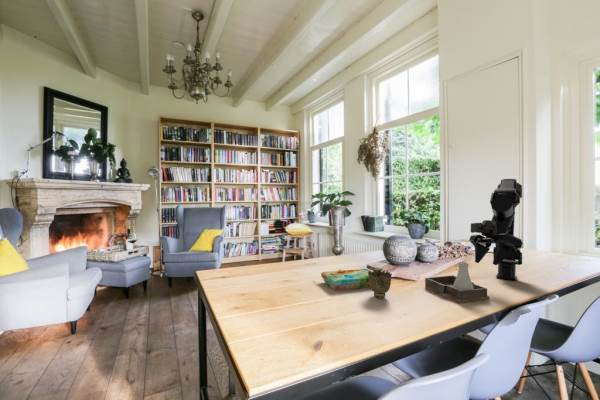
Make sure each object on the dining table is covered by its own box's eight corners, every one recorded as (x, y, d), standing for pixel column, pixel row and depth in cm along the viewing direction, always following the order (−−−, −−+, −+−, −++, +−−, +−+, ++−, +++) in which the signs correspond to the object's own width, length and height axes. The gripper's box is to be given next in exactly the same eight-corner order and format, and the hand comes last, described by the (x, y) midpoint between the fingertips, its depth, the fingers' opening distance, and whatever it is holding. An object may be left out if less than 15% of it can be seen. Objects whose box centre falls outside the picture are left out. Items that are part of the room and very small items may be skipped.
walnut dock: (425, 287, 101) (425, 277, 101) (452, 285, 105) (452, 275, 104) (458, 303, 87) (458, 291, 87) (489, 299, 90) (489, 288, 90)
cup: (378, 302, 88) (379, 276, 87) (363, 295, 94) (363, 271, 94) (396, 298, 91) (396, 273, 91) (380, 291, 98) (380, 268, 97)
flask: (472, 290, 95) (473, 260, 95) (478, 298, 88) (479, 266, 88) (448, 288, 98) (449, 259, 97) (452, 295, 91) (453, 264, 90)
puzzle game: (321, 270, 108) (367, 266, 114) (321, 282, 108) (367, 278, 114) (334, 279, 97) (384, 274, 103) (334, 292, 97) (384, 286, 103)
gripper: (463, 214, 109) (448, 252, 107) (498, 209, 90) (480, 254, 88) (490, 227, 108) (476, 265, 106) (531, 225, 90) (514, 270, 88)
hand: (485, 263), depth 97 cm, fingers open, 9 cm apart
